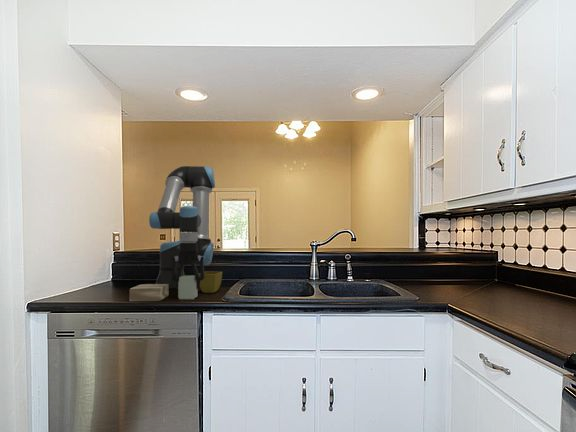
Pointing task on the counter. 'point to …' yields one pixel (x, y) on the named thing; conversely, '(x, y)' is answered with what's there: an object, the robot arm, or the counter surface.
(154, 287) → the base block
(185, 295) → the sage block
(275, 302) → the counter surface
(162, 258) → the robot arm
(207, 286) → the flower pot
